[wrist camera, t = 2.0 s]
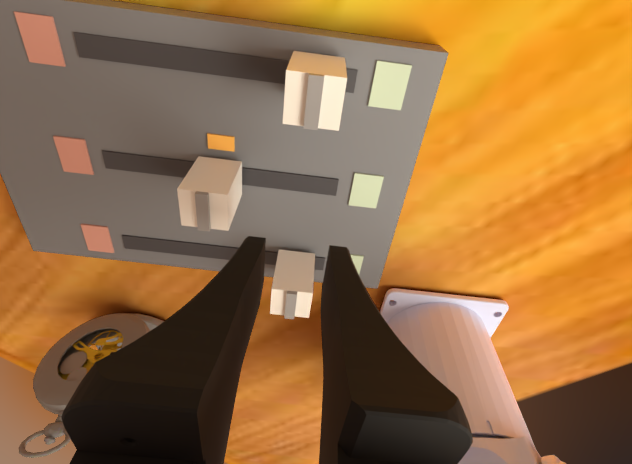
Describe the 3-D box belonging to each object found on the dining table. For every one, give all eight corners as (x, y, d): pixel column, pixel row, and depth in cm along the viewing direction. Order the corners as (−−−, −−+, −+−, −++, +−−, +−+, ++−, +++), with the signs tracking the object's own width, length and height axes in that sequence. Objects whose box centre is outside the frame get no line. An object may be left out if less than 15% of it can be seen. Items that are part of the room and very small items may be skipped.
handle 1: (311, 277, 22) (308, 321, 19) (277, 273, 22) (269, 316, 19) (315, 253, 21) (312, 296, 18) (278, 249, 21) (271, 291, 18)
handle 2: (338, 103, 16) (338, 133, 13) (290, 97, 16) (281, 126, 13) (345, 57, 15) (347, 79, 12) (293, 50, 15) (285, 71, 12)
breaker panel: (375, 271, 24) (377, 289, 22) (49, 234, 23) (32, 251, 22) (439, 45, 16) (448, 53, 15) (-49, -22, 15) (-85, -20, 14)
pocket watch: (158, 374, 31) (98, 519, 23) (62, 322, 28) (-49, 472, 20) (222, 333, 28) (177, 488, 20) (121, 268, 24) (16, 424, 16)
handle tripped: (241, 194, 19) (227, 233, 16) (201, 189, 18) (180, 228, 16) (241, 161, 18) (226, 197, 15) (198, 156, 17) (175, 191, 15)
